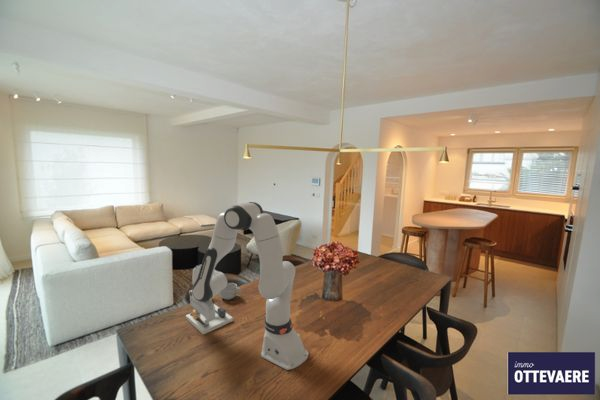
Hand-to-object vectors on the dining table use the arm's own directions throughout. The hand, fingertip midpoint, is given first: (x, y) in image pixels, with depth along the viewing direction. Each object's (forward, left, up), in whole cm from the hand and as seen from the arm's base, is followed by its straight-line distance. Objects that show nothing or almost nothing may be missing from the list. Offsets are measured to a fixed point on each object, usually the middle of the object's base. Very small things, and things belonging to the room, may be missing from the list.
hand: (202, 319), depth 138 cm
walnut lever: (+5, -6, -1) cm, 7 cm away
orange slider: (+7, 0, -2) cm, 8 cm away
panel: (+4, -6, -4) cm, 8 cm away
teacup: (+17, -27, -4) cm, 32 cm away
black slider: (-1, -11, -2) cm, 11 cm away
